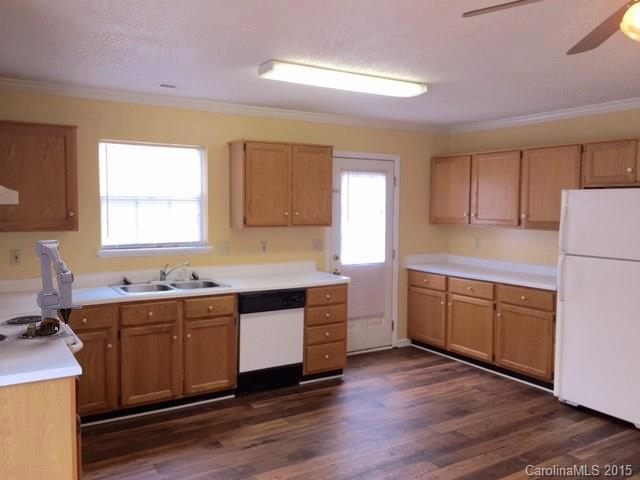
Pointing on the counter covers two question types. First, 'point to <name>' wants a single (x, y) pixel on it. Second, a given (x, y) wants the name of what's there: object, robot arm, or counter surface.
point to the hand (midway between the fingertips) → (66, 323)
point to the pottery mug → (49, 325)
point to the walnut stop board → (31, 329)
